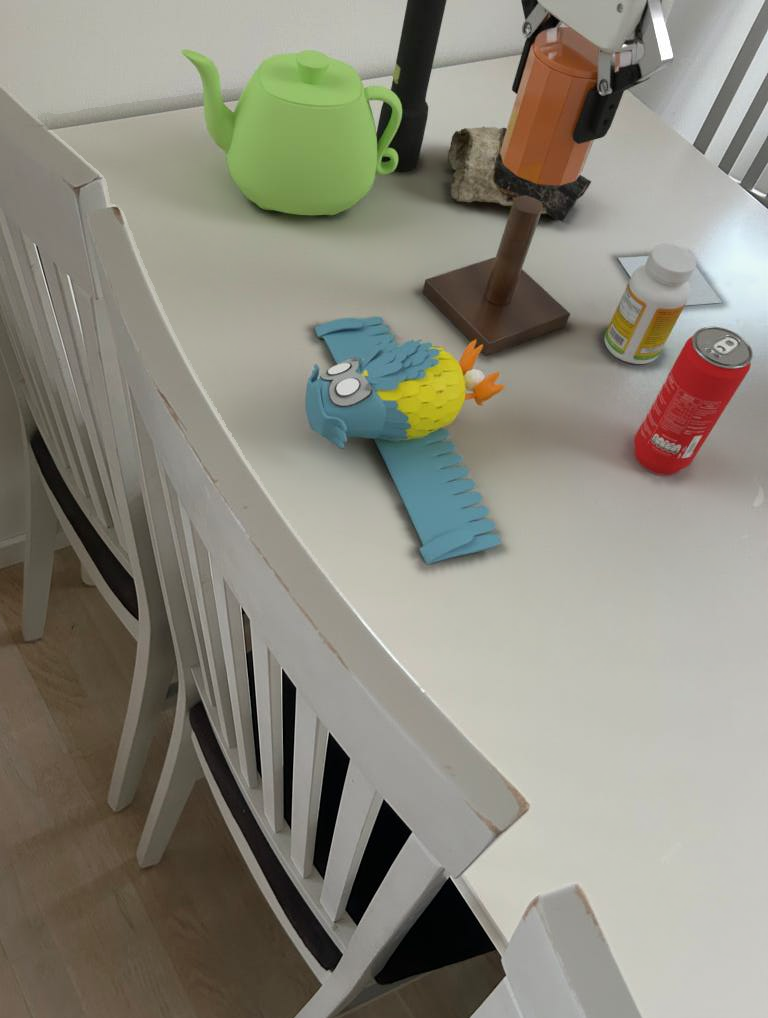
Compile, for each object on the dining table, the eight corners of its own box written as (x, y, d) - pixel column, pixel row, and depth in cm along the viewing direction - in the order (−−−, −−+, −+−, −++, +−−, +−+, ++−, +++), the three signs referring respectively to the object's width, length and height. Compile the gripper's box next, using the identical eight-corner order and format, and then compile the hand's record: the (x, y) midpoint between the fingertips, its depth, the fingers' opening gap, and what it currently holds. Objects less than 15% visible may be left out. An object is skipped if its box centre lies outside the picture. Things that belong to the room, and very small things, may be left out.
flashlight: (407, 143, 109) (365, 147, 108) (460, -114, 90) (410, -113, 88) (425, 169, 107) (382, 173, 106) (484, -90, 87) (433, -88, 86)
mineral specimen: (455, 91, 105) (596, 100, 105) (444, 159, 111) (577, 168, 111) (460, 154, 97) (612, 164, 97) (448, 223, 103) (591, 232, 103)
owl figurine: (575, 466, 71) (381, 502, 68) (540, 541, 79) (362, 578, 75) (432, 233, 86) (265, 253, 82) (413, 315, 93) (259, 336, 89)
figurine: (666, 289, 99) (674, 273, 98) (654, 272, 101) (661, 255, 99) (686, 288, 100) (695, 271, 98) (674, 270, 101) (682, 254, 100)
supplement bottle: (664, 340, 95) (710, 251, 87) (651, 373, 92) (698, 284, 84) (610, 321, 96) (651, 231, 88) (596, 352, 93) (637, 263, 85)
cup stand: (501, 266, 99) (535, 161, 90) (565, 326, 94) (608, 223, 85) (421, 292, 95) (448, 186, 86) (484, 356, 91) (520, 251, 82)
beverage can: (617, 451, 86) (676, 339, 76) (653, 427, 88) (715, 315, 78) (663, 488, 84) (730, 378, 74) (699, 462, 86) (769, 353, 76)
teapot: (177, 221, 97) (178, 86, 86) (183, 137, 106) (184, 4, 95) (396, 239, 99) (424, 109, 89) (385, 155, 108) (410, 27, 97)
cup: (545, 132, 85) (582, 20, 78) (597, 174, 82) (641, 62, 75) (484, 148, 83) (516, 34, 75) (536, 192, 80) (574, 79, 72)
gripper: (784, -109, 62) (664, 161, 77) (602, -211, 69) (525, 53, 84) (701, -95, 59) (594, 182, 74) (521, -203, 67) (456, 69, 81)
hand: (558, 112), depth 79 cm, fingers closed on cup, 6 cm apart
